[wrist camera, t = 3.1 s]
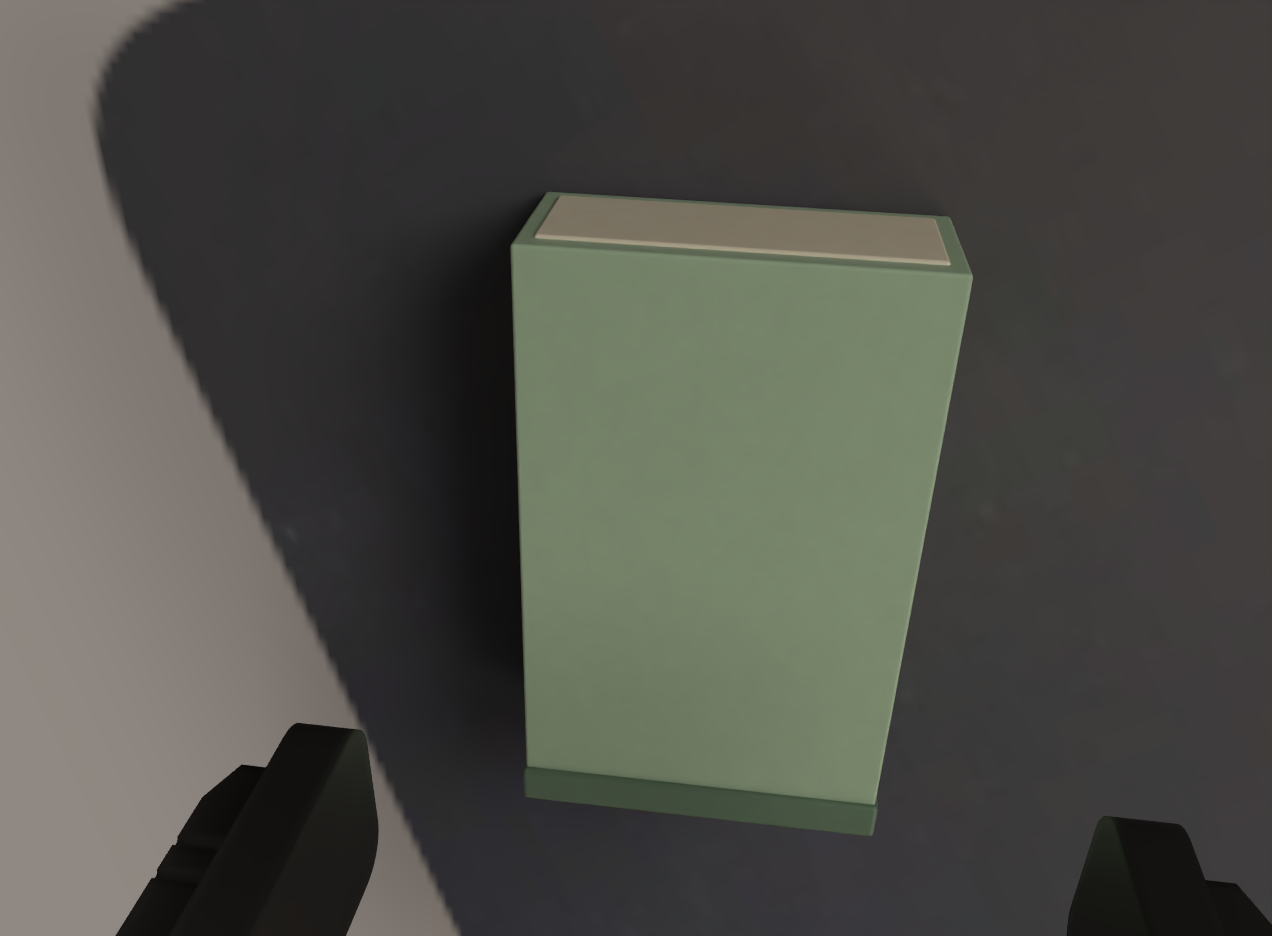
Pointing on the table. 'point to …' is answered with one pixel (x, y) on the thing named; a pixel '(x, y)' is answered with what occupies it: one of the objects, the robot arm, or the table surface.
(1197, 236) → the table surface
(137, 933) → the robot arm
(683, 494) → the notebook
